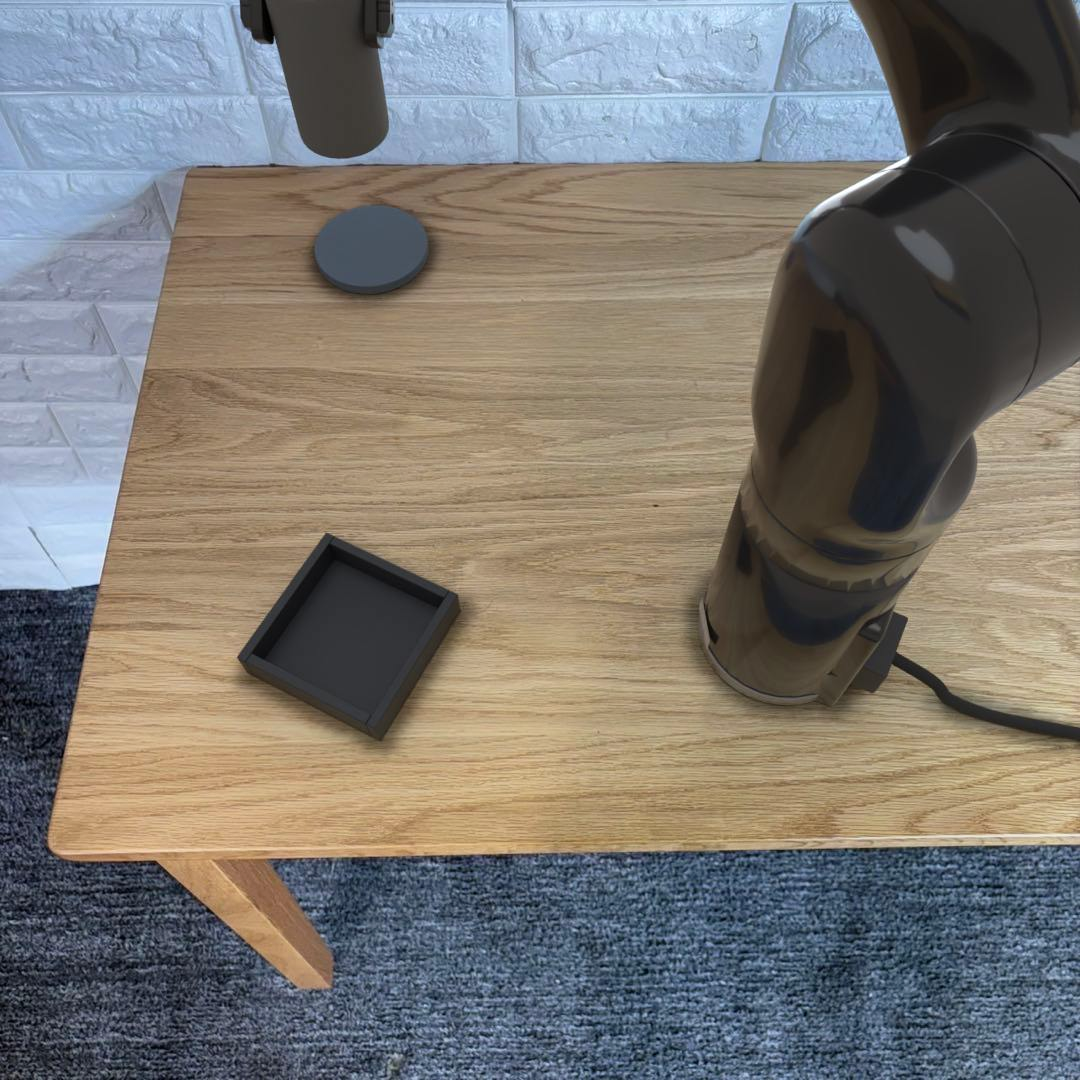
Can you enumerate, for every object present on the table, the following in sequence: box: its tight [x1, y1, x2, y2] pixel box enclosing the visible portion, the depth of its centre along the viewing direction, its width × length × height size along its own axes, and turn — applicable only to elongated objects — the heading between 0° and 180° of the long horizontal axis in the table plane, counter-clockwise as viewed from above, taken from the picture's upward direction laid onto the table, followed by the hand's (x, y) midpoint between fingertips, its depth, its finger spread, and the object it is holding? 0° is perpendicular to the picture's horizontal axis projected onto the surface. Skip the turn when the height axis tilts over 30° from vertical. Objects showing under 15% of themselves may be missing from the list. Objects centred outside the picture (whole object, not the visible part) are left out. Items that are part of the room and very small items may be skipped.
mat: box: [313, 204, 429, 295], centre depth 75 cm, size 8×8×1 cm
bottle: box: [265, 0, 390, 160], centre depth 58 cm, size 6×6×15 cm
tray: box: [236, 532, 462, 743], centre depth 58 cm, size 9×9×2 cm
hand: (319, 42), depth 58 cm, fingers closed on bottle, 6 cm apart
